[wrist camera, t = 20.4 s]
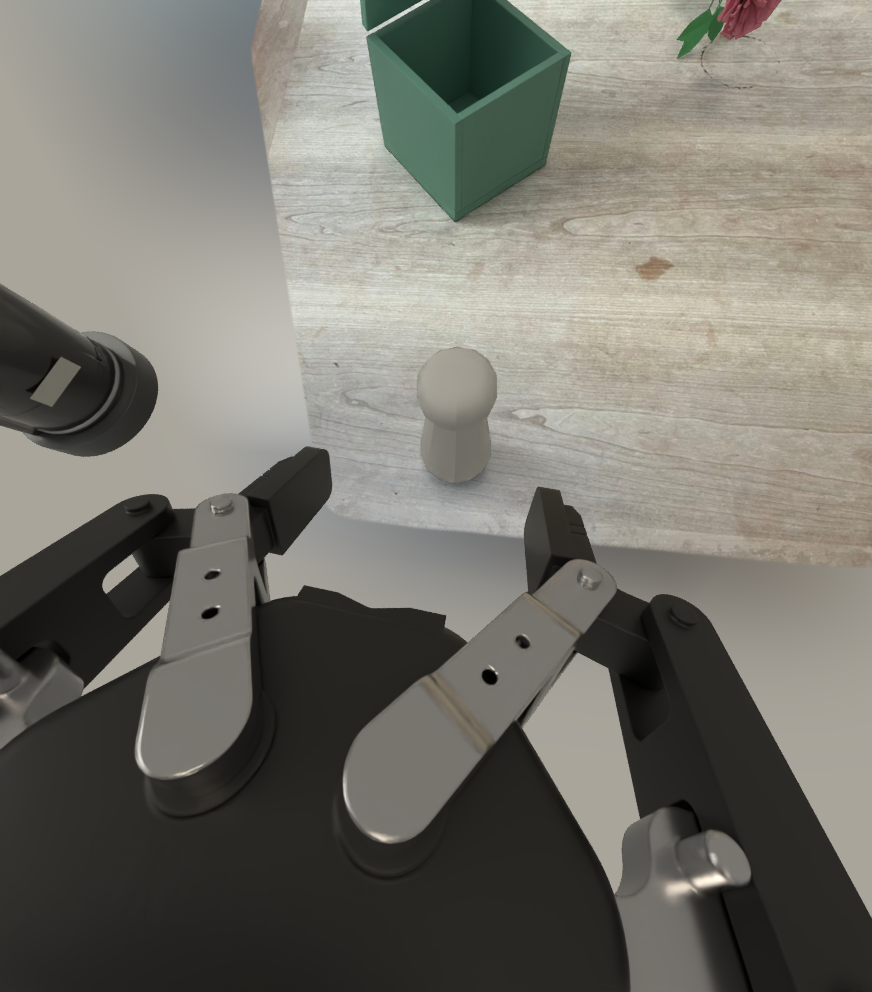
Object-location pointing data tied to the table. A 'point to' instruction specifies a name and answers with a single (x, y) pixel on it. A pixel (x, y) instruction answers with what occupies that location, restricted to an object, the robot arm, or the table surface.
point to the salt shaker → (456, 413)
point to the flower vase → (727, 21)
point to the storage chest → (467, 97)
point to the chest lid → (382, 10)
